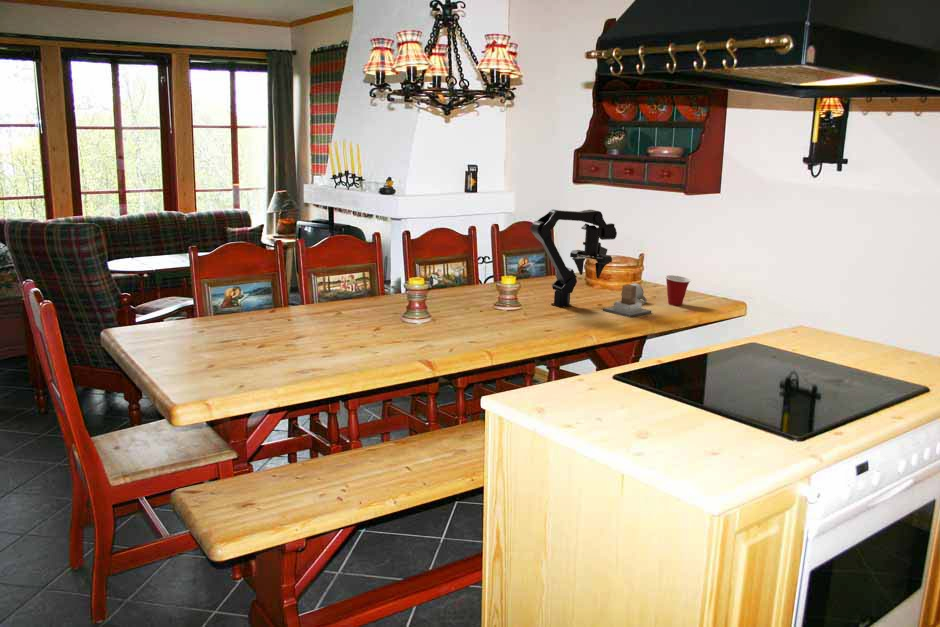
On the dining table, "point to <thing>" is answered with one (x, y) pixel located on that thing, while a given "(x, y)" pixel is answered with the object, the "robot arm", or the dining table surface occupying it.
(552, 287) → the robot arm
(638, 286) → the ceramic mug
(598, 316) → the dining table surface
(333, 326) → the dining table surface
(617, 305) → the metal square socket base
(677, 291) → the plastic cup
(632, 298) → the walnut post
